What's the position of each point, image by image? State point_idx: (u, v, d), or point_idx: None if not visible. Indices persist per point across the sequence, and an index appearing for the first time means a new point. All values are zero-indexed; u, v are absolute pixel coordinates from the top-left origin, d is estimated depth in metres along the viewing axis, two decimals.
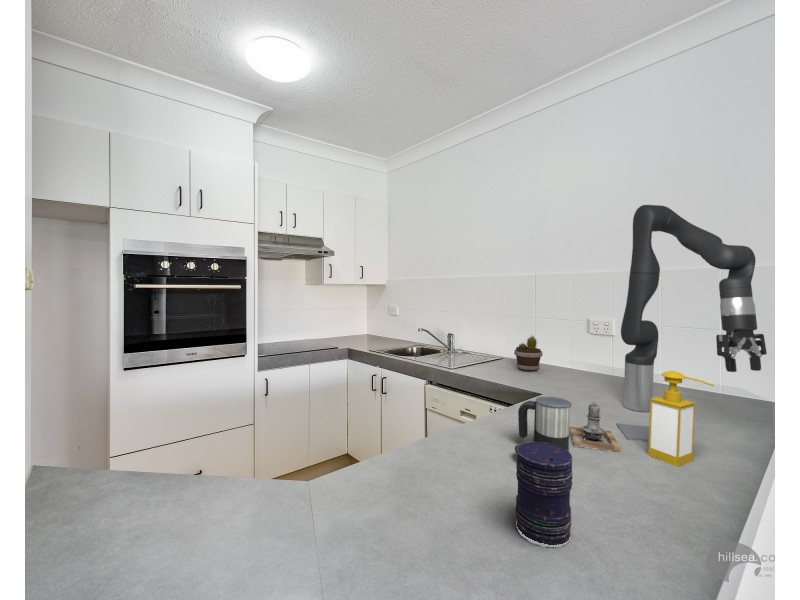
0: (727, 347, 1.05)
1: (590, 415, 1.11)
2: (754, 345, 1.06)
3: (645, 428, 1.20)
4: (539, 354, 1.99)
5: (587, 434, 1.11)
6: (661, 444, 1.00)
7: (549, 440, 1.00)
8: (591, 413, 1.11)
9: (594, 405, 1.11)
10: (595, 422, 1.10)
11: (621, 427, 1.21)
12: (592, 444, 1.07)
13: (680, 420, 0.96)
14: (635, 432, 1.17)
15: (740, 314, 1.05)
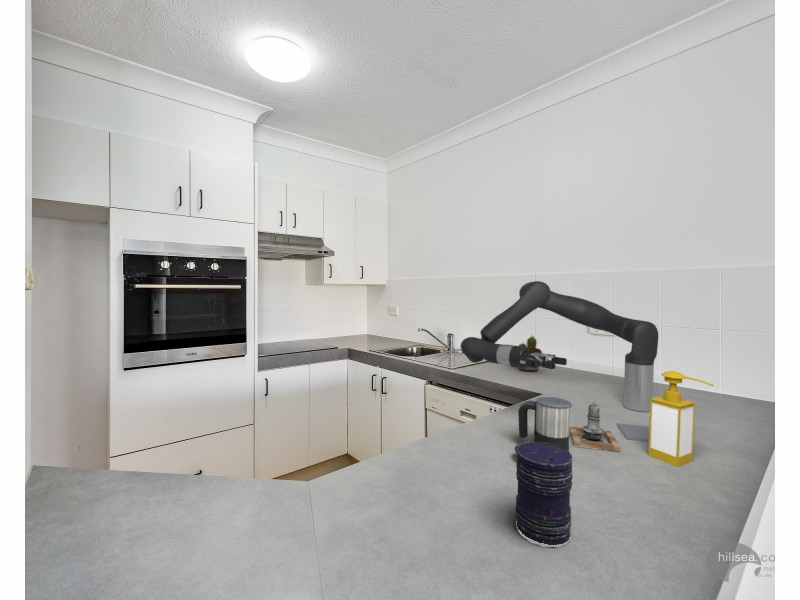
0: None
1: (590, 415, 1.11)
2: None
3: (645, 428, 1.20)
4: None
5: (587, 434, 1.11)
6: (661, 444, 1.00)
7: (549, 440, 0.99)
8: (591, 413, 1.11)
9: (594, 405, 1.11)
10: (595, 422, 1.10)
11: (621, 427, 1.21)
12: (592, 444, 1.07)
13: (680, 420, 0.96)
14: (635, 432, 1.17)
15: None
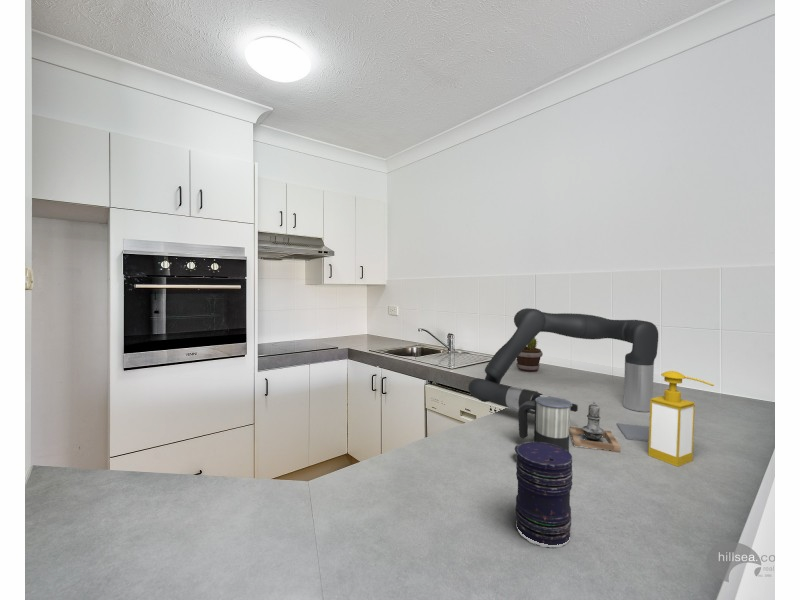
0: None
1: (590, 415, 1.11)
2: None
3: (645, 428, 1.20)
4: (539, 354, 1.99)
5: (587, 434, 1.11)
6: (661, 444, 1.00)
7: (549, 440, 0.99)
8: (591, 413, 1.11)
9: (594, 405, 1.11)
10: (595, 422, 1.10)
11: (621, 427, 1.21)
12: (592, 444, 1.07)
13: (680, 420, 0.96)
14: (635, 432, 1.17)
15: None
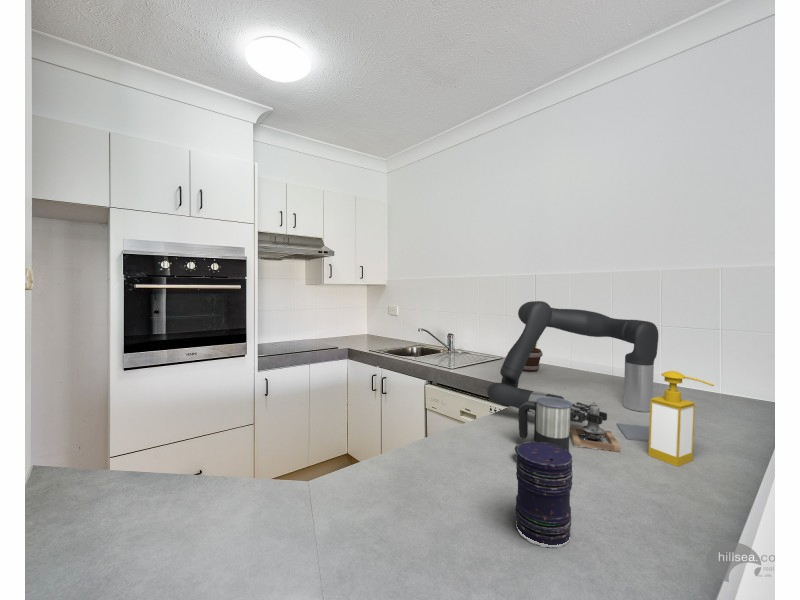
0: None
1: None
2: None
3: (645, 428, 1.20)
4: (539, 354, 1.99)
5: (587, 434, 1.11)
6: (661, 444, 1.00)
7: (549, 440, 0.99)
8: (591, 413, 1.11)
9: (594, 405, 1.11)
10: None
11: (621, 427, 1.21)
12: (592, 444, 1.07)
13: (680, 420, 0.96)
14: (635, 432, 1.17)
15: None
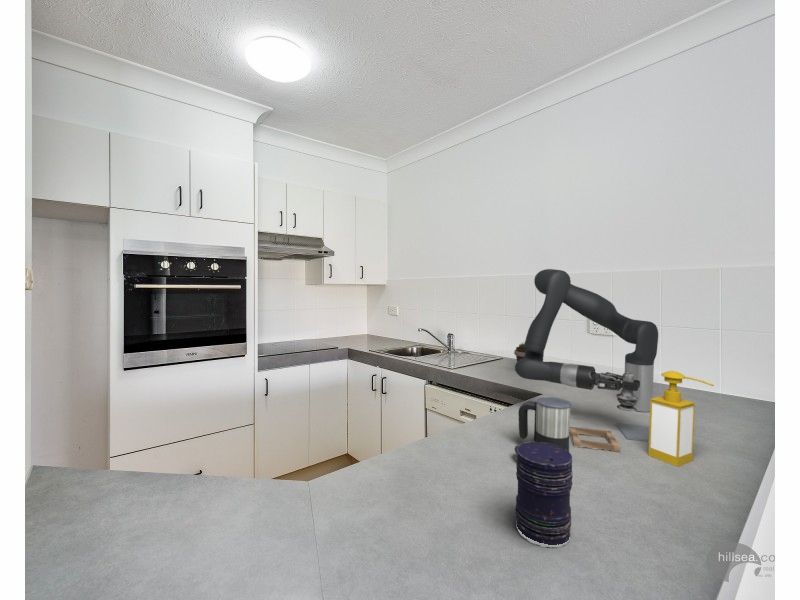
0: None
1: None
2: None
3: (645, 428, 1.20)
4: None
5: (622, 401, 1.14)
6: (661, 444, 1.00)
7: (549, 440, 0.99)
8: (626, 381, 1.14)
9: (629, 373, 1.14)
10: None
11: (621, 427, 1.21)
12: (592, 444, 1.07)
13: (680, 420, 0.96)
14: (635, 432, 1.17)
15: None
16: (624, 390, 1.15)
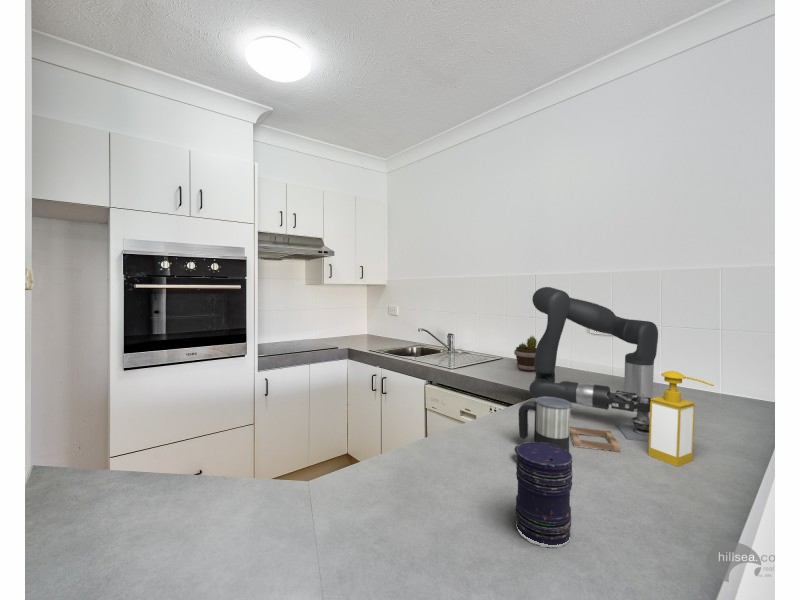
0: None
1: None
2: None
3: None
4: None
5: (639, 425, 1.16)
6: (661, 444, 1.00)
7: (549, 441, 0.99)
8: None
9: (644, 397, 1.16)
10: (645, 413, 1.16)
11: (621, 427, 1.21)
12: (592, 444, 1.07)
13: (680, 420, 0.96)
14: None
15: None
16: (640, 414, 1.17)
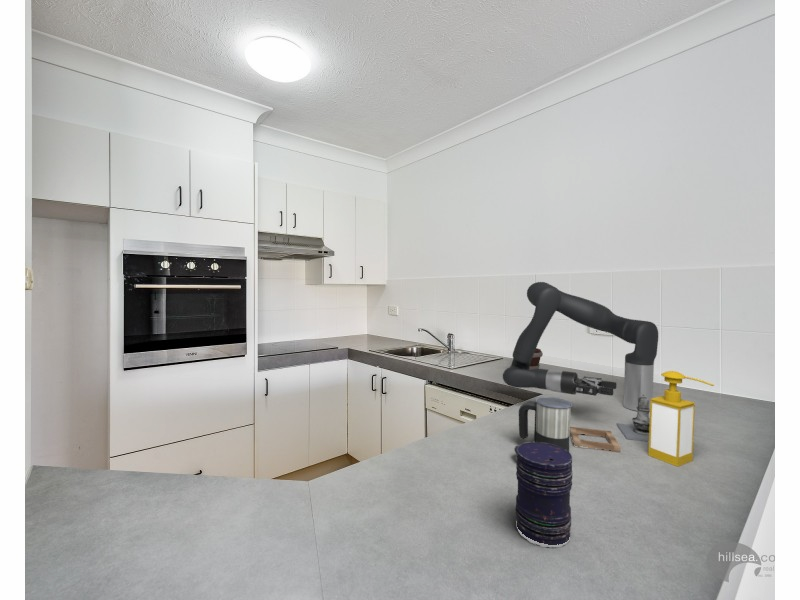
0: None
1: (641, 407, 1.17)
2: None
3: None
4: (539, 354, 1.99)
5: (639, 425, 1.16)
6: (661, 444, 1.00)
7: (549, 441, 0.99)
8: (642, 405, 1.16)
9: (644, 397, 1.17)
10: (646, 413, 1.16)
11: (621, 427, 1.21)
12: (592, 444, 1.07)
13: (680, 420, 0.96)
14: None
15: None
16: (640, 414, 1.17)
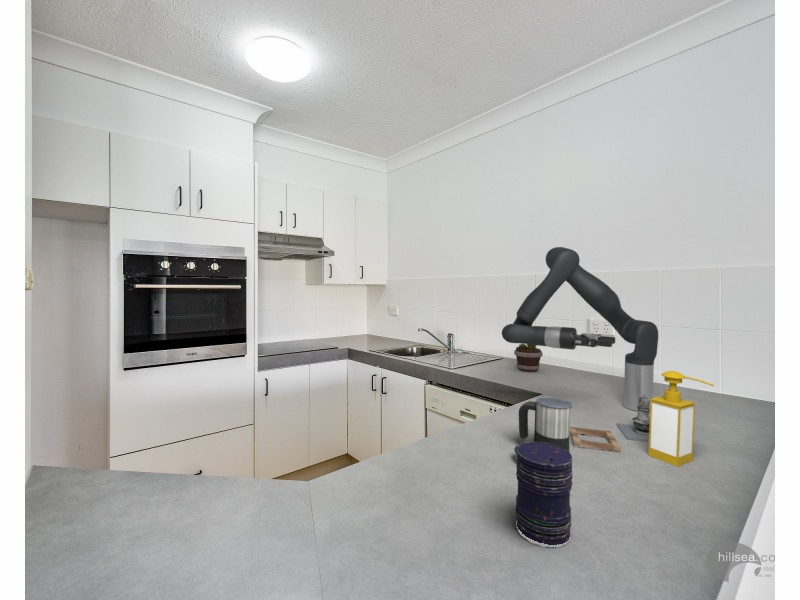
0: None
1: (641, 407, 1.16)
2: None
3: None
4: (539, 354, 1.99)
5: (639, 425, 1.16)
6: (661, 444, 1.00)
7: (549, 441, 0.99)
8: (642, 405, 1.16)
9: (645, 397, 1.17)
10: (646, 413, 1.16)
11: (621, 427, 1.21)
12: (592, 444, 1.07)
13: (680, 420, 0.96)
14: None
15: None
16: (640, 414, 1.17)
